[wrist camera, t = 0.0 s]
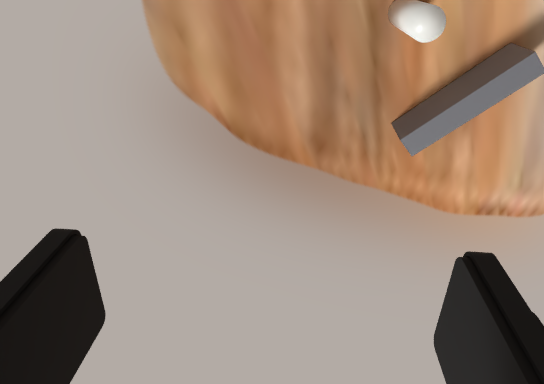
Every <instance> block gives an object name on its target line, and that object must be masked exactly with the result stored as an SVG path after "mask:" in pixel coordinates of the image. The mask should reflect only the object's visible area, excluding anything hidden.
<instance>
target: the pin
mask: <svg viewBox="0 0 544 384" xmlns="http://www.w3.org/2000/svg"><path fill="white" fill-rule="evenodd" d="M388 18H389V21H390V22H391V24H393V25H394V26H395V27H397V28H398V29H400V30H402V31H403V32H405V33H406V34H408V35H409V36H411V37H412V38H414V39H415V40H417V41H419V42H424V43H425V42H431V41H433V40H435V39H436V38H438V37H439V36H440V35H441V34H442V32H443V30H444V28H445V25H446V16H445V13H444V11H443V10H442V9H441V8H440V7H438V6H436V5H432V4H429V3H425V2H422V1H418V0H395V1H394V2H393V3H392V4H391V5H390V7H389V10H388Z"/></svg>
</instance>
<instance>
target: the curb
mask: <svg viewBox="0 0 544 384" xmlns="http://www.w3.org/2000/svg"><path fill="white" fill-rule="evenodd" d="M542 74H544V67H543V65H542V63H541V61H540V59H539V58H538V56H537V54H536V52H535V51H532V50H529V49H526V48H524V47H521V46H518V45H515V44H513V43H509V44H508V45H506V46H505V47H503V48H502V49H500V50H499V51H497V52H496V53H495V54H493V55H492V56H490V57H489V58H487V59H486V60H484V61H483V62H481V63H480V64H478V65H477V66H475V67H474V68H472V69H471V70H469V71H468V72H466V73H465V74H463V75H462V76H460V77H459V78H457V79H456V80H455V81H453V82H452V83H450V84H449V85H447V86H446V87H444V88H443V89H441V90H440V91H438V92H437V93H435V94H434V95H432V96H431V97H429V98H428V99H426V100H425V101H423V102H422V103H420V104H419V105H417V106H416V107H414V108H413V109H412V110H410V111H409V112H407V113H406V114H404V115H403V116H401V117H400V118H398V119H397V120H395V121H394V122H392V123H391V124H392V126H393V128H394V129H395V131H396V133H397V135H398V137H399V139H400V140H401V142H402V143H403V145H404V146H405V147H406V149H407V150H408V152H409V153H410V154H411V156H413V155H415V154H417V153H418V152H420V151H421V150H423V149H425V148H426V147H428V146H429V145H431V144H433V143H434V142H436V141H437V140H439V139H441V138H442V137H444V136H445V135H447V134H448V133H450V132H452V131H453V130H455V129H456V128H458V127H460V126H461V125H463V124H464V123H466V122H468V121H469V120H471V119H472V118H474V117H476V116H477V115H479V114H480V113H482V112H483V111H485V110H487V109H488V108H490V107H491V106H493V105H495V104H496V103H498V102H499V101H501V100H503V99H504V98H506V97H507V96H509V95H511V94H512V93H514V92H515V91H517V90H519V89H520V88H522V87H523V86H525V85H526V84H528V83H530V82H531V81H533V80H534V79H536V78H538V77H539V76H541V75H542Z"/></svg>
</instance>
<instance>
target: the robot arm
mask: <svg viewBox="0 0 544 384" xmlns="http://www.w3.org/2000/svg"><path fill="white" fill-rule="evenodd" d="M104 321H105V310H104V305H103V301H102V297H101V293H100V289H99V285H98V281H97V277H96V273H95V269H94V265H93V261H92V257H91V253H90V249H89V245H88V241H87V238H86V237H85V236H81V234H80V232H79V231H78V230H71V229H53V230H51V231H50V232H49V233H48V234H47V235H46V236H45V237H44V238H43V239H42V240H41V241H40V242H39V243H38V244H37V245H36V246H35V247H34V248H33V249H32V250H31V251H30V252H29V253H28V254H27V255H26V256H25V257H24V258H23V260H21V261H20V262H19V263H18V264H17V265H16V266H15V267H14V268H13V269H12V270H11V272H9V274H8V275H7V276H6V277H5V278H4V279H3V280H2V281H1V282H0V384H70V382H71V380H72V379H73V377H74V375H75V373H76V372H77V370H78V368H79V366H80V365H81V363H82V361H83V360H84V358H85V356H86V354H87V353H88V351H89V349H90V347H91V346H92V343H93V342H94V340H95V339H96V337H97V335H98V333H99V332H100V330H101V328H102V326H103V324H104ZM434 347H435V351H436V353H437V357H438V360H439V363H440V366H441V369H442V372H443V375H444V378H445V381H446V384H544V326H543V324H542V323H541V321H540V320H539V318H538V317H537V316H536V315H535V314H534V313H533V312H532V311H531V310H530V308H529V307H528V306H527V304H526V302H525V301H524V299H523V298H522V296H521V295H520V293H519V292H518V290H517V288H516V287H515V285H514V284H513V282H512V281H511V279H510V278H509V276H508V275H507V273H506V272H505V270H504V269H503V267H502V266H501V264H500V263H499V261H498V260H497V258H496V256H495V255H494V254H492V253H483V252H466V253H465V254H464V256H463V257H458V258H457V259H456V261H455V264H454V268H453V271H452V275H451V278H450V282H449V285H448V288H447V292H446V295H445V299H444V302H443V306H442V309H441V313H440V316H439V320H438V323H437V327H436V330H435V334H434Z"/></svg>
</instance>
